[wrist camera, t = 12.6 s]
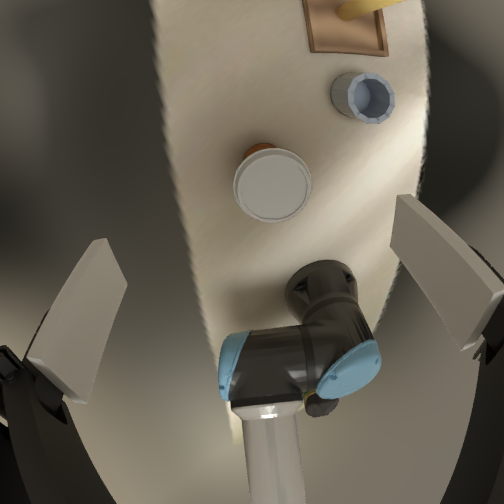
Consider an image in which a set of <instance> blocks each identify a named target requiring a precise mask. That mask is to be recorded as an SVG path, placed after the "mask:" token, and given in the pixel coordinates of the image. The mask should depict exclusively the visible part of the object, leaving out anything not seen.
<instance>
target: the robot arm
mask: <svg viewBox="0 0 504 504" xmlns="http://www.w3.org/2000/svg"><path fill="white" fill-rule="evenodd" d="M390 247H391V248H392V250H393V251H394V252H395V254H396V255H397V256H398V257H399V259H400V260H401V261H402V263H403V264H404V265H405V266H406V268H407V269H408V271H409V272H410V274H411V275H412V276H413V278H414V279H415V281H416V282H417V283H418V285H419V286H420V288H421V289H422V290H423V292H424V293H425V295H426V296H427V298H428V299H429V301H430V302H431V304H432V305H433V307H434V308H435V310H436V311H437V313H438V314H439V316H440V317H441V319H442V321H443V322H444V324H445V325H446V327H447V329H448V330H449V332H450V334H451V335H452V337H453V339H454V340H455V342H456V344H457V345H458V347H459V349H460V351H462V350H464V349H466V348H469V347H471V346H473V345H475V343H476V341H477V340H478V338H479V337H480V335H481V334H482V335H483V336H484V338H485V340H484V341H483V343H482V344H481V346H480V347H479V349H478V350H477V351H476V353H475V354H474V357H473V359H476V358H477V356H478V355H479V354H480V353H481V357H480V358H479V361H480V366H479V374H478V381H477V387H476V393H475V398H474V403H473V408H472V413H471V417H470V421H469V425H468V429H467V432H466V436H465V440H464V443H463V446H462V449H461V452H460V455H459V459H458V461H457V464H456V467H455V470H454V472H453V475H452V477H451V480H450V482H449V485H448V487H447V490H446V492H445V494H444V496H443V498H442V500H441V503H440V504H504V279H503V278H502V277H501V276H500V275H499V273H498V272H497V271H496V270H495V269H494V268H493V267H491V265H490V263H489V262H488V261H487V260H485V259H484V257H483V256H482V255H481V254H480V253H479V252H478V251H477V250H476V249H474V248H473V247H471V246H469V245H468V244H466V243H465V242H464V241H463V240H462V239H461V238H460V237H459V236H458V235H457V234H456V233H454V232H453V231H452V230H451V229H450V228H449V227H448V226H447V225H446V224H445V223H444V222H443V221H441V220H440V219H439V218H438V217H437V216H436V215H435V214H434V213H432V212H431V211H430V210H429V209H428V208H427V207H425V206H424V205H423V204H422V203H420V202H419V201H418V200H417V199H416V198H414V197H413V196H412V195H411V194H405V195H397V199H396V207H395V216H394V223H393V230H392V236H391V243H390ZM126 287H127V282H126V280H125V278H124V276H123V274H122V272H121V270H120V268H119V266H118V263H117V261H116V259H115V257H114V255H113V253H112V250H111V248H110V246H109V243H108V241H107V239H106V238H104V239H99V240H94V241H93V242H92V243H91V245H90V246H89V247H88V249H87V250H86V252H85V253H84V255H83V256H82V258H81V259H80V261H79V262H78V264H77V266H76V267H75V268H74V270H73V272H72V273H71V275H70V276H69V278H68V279H67V281H66V283H65V285H64V286H63V288H62V289H61V291H60V293H59V294H58V296H57V298H56V300H55V302H54V303H53V305H52V307H51V308H50V309H49V310H48V311H47V312H46V314H45V315H44V317H43V319H42V321H41V323H40V326H39V327H38V329H37V331H36V333H35V335H34V337H33V339H32V341H31V343H30V345H29V347H28V350H27V351H26V354H25V356H24V358H23V360H22V362H21V361H20V360H19V359H18V357H17V356H16V355H15V354H14V353H13V352H12V351H11V350H10V349H9V347H7V346H6V345H2V346H0V416H1V417H3V418H4V419H6V420H7V422H8V427H6V426H5V425H3V424H2V423H1V422H0V504H116V502H115V501H114V499H113V497H112V496H111V494H110V493H109V491H108V490H107V488H106V486H105V485H104V483H103V481H102V480H101V478H100V476H99V474H98V473H97V470H96V469H95V467H94V465H93V463H92V461H91V460H90V457H89V455H88V453H87V451H86V449H85V447H84V445H83V443H82V441H81V439H80V436H79V434H78V432H77V429H76V427H75V425H74V422H73V420H72V417H71V415H70V412H69V410H68V407H67V405H66V403H65V402H64V401H63V400H62V398H63V395H64V394H65V395H66V396H67V397H68V398H69V399H71V400H72V401H73V402H77V403H83V404H88V403H89V399H90V395H91V391H92V387H93V384H94V380H95V376H96V373H97V370H98V367H99V363H100V360H101V357H102V354H103V351H104V348H105V345H106V342H107V339H108V336H109V333H110V329H111V327H112V324H113V321H114V318H115V316H116V313H117V310H118V308H119V305H120V303H121V300H122V297H123V295H124V292H125V290H126ZM285 296H286V301H287V305H288V308H289V310H290V311H291V313H292V314H293V315H294V317H295V318H296V319H297V321H298V322H299V323H300V324H301V325H295V326H288V327H280V328H273V329H264V330H254V331H253V330H249V331H246V332H240V333H233V334H230V335H228V336H227V337H226V338H225V340H224V341H223V344H222V347H221V351H220V357H219V367H218V382H219V393H220V397H221V398H222V399H223V400H226V401H227V402H228V401H230V403H231V411H232V412H234V413H235V414H236V415H237V416H239V417H240V419H241V420H242V429H243V439H244V448H245V457H246V467H247V475H248V484H249V493H250V501H251V504H306V498H305V489H304V481H303V471H302V462H301V454H300V446H299V437H298V429H297V422H296V412H297V410H298V409H299V408H300V407H301V405H302V404H303V403H304V402H303V395H302V392H307V391H312V390H316V393H317V394H318V395H319V397H321V398H323V399H327V398H328V399H336V398H340V397H343V396H346V395H348V394H351V393H353V392H355V391H357V390H358V389H360V388H362V387H363V386H364V385H366V384H367V383H369V382H370V381H371V380H372V379H373V378H374V377H375V375H376V374H377V373H378V371H379V369H380V367H381V356H380V353H379V350H378V347H377V342H376V341H375V339H374V337H373V335H372V333H371V331H370V328H369V326H368V324H367V322H366V320H365V318H364V315H363V313H362V311H361V309H360V307H359V305H358V293H357V282H356V279H355V277H354V275H353V273H352V271H351V270H350V269H349V268H348V267H347V266H346V265H345V264H343V263H341V262H337V261H331V260H325V261H319V262H315V263H312V264H309V265H307V266H305V267H304V268H302V269H301V270H299V271H298V272H297V273H296V274H295V275H294V276H293V277H292V278H291V279H290V281H289V283H288V285H287V287H286V292H285Z"/></svg>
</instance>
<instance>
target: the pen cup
mask: <svg viewBox="0 0 504 504" xmlns="http://www.w3.org/2000/svg"><path fill="white" fill-rule="evenodd" d="M330 95H331V100H332V103H333V105H334V106H335V108H336V109H337V110H338V111H339V112H341V113H342V114H344V115H347V116H348V117H350V118H353V119H356V120H359V121H362V122H365V123H371V124H379V123H381V122H383V121H384V120H386V119H387V118H389V117H390V115H391V113H392V111H393V109H394V107H395V101H394V92H393V90H392V88H391V86H390V84H389V83H388V81H387V80H385V79H384V78H382V77H381V76H380V75H378V74H375V73H347V74H343V75H341V76H339V77H338V78H337V79H336V80H335V81H334V82H333V84H332V86H331V92H330Z"/></svg>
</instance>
